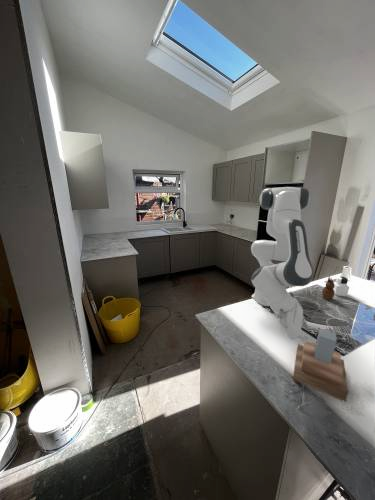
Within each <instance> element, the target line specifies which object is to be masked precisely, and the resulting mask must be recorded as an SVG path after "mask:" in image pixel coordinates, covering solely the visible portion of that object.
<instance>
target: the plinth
mask: <svg viewBox="0 0 375 500" xmlns="http://www.w3.org/2000/svg"><path fill="white" fill-rule="evenodd" d="M315 345H316V343H313V342H309V341H307V343H303V345H302V344H299V343H297V348H296V353H295V361H294V367H293V368H294V369H293V376H292V380H295V381H296V382H298V383H301V384H303V385H306V386H308V387H310V388H312V389H315V390H316V391H319V392H322V393H325V394H327V395H329V396H331V397H334V398H335V399H338V400H339V401H343V402H347V398H348V396H349V389H348V388H349V387H348V381H347V374H346V367H345V360H344V359H342V356H341V352H338V351H336V350H334V353H333V356H332V360H331V364H328V363H326V362H323V361H320V360H318V359H315V358H314V349H315Z"/></svg>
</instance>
